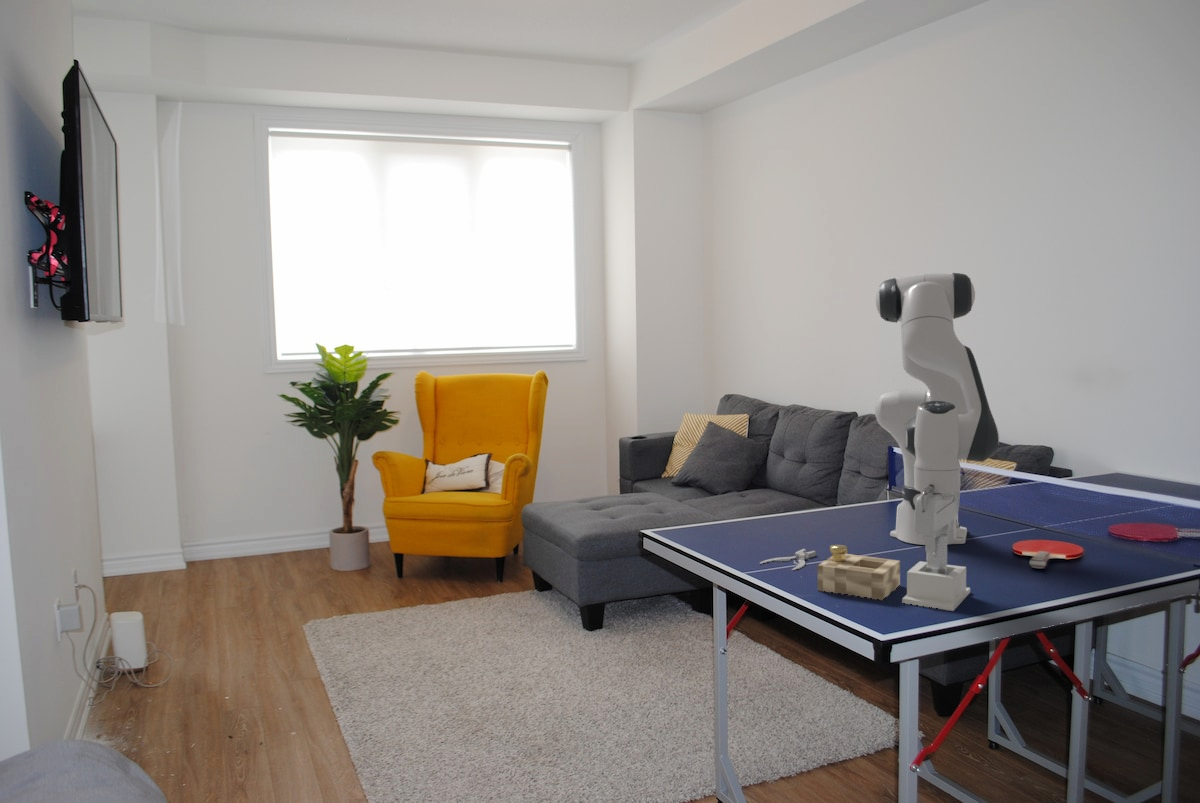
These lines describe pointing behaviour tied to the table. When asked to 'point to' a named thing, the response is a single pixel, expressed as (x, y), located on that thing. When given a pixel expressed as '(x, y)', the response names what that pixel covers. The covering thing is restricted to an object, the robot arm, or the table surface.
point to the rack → (936, 587)
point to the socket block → (859, 576)
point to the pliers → (799, 555)
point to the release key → (838, 552)
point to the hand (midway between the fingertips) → (936, 547)
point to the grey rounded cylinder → (938, 556)
